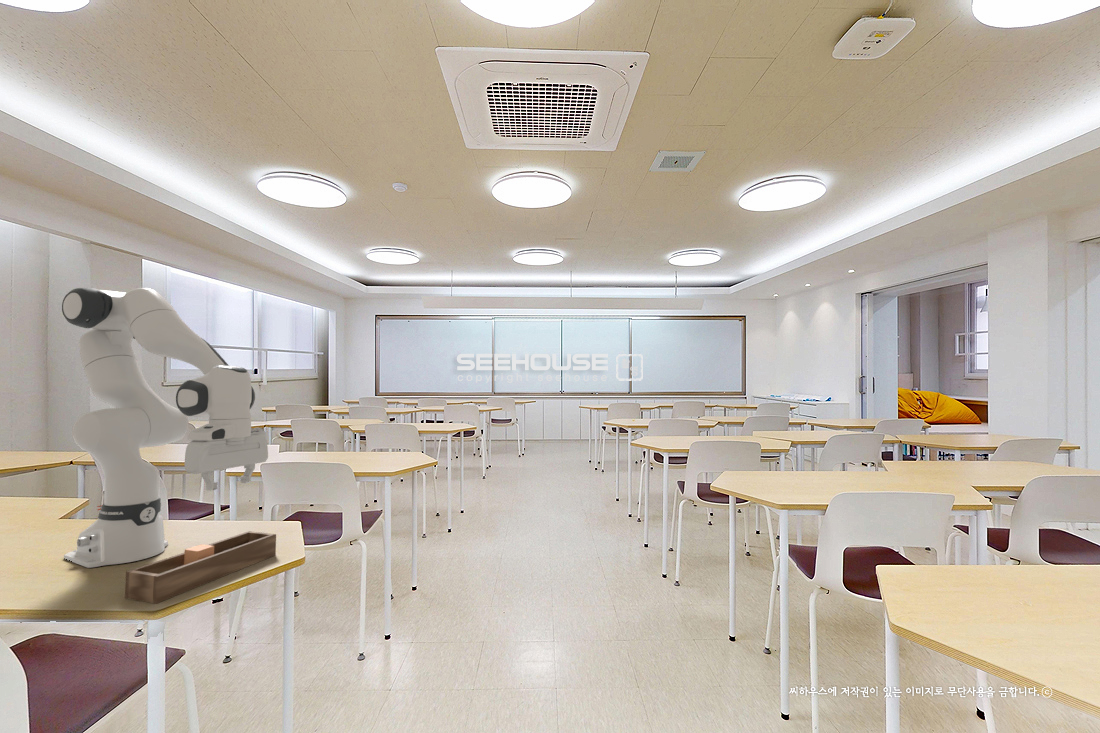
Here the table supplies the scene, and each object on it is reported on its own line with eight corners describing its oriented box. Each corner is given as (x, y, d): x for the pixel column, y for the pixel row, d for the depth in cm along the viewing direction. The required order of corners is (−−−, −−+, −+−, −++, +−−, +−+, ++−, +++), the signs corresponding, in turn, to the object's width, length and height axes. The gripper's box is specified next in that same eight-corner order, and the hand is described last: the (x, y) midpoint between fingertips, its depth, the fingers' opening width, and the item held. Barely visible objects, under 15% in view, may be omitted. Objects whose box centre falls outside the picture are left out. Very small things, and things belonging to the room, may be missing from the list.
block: (184, 567, 112) (184, 549, 112) (200, 561, 116) (201, 544, 116) (197, 569, 111) (197, 551, 111) (213, 563, 115) (214, 545, 115)
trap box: (124, 598, 103) (125, 571, 103) (248, 551, 131) (249, 531, 132) (156, 603, 100) (157, 576, 100) (275, 555, 129) (276, 534, 129)
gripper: (255, 426, 132) (255, 478, 132) (180, 433, 113) (178, 494, 112) (274, 427, 131) (273, 479, 130) (201, 434, 111) (199, 495, 110)
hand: (229, 486), depth 121 cm, fingers open, 8 cm apart
